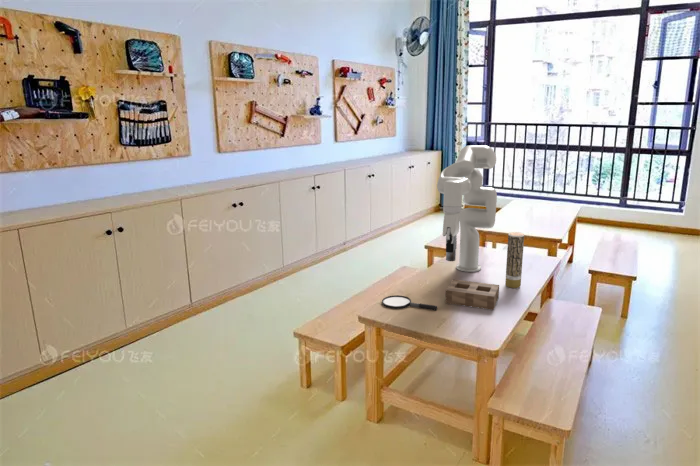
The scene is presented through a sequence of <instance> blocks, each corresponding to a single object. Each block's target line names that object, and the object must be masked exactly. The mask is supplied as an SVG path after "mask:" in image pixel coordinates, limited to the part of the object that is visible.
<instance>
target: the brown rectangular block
mask: <svg viewBox="0 0 700 466" xmlns="http://www.w3.org/2000/svg"><path fill="white" fill-rule="evenodd" d="M499 294H500V285H499V284H494V283H488V282H487V283H485V282H478V281H470V280H463V279H461V280H460V279H456V278H455V279H452V280H451V282H450V284H449V285H448V286H447V287H446V289H445V304H448V305H449V304H450V305H457V306H462V305H465V306H464V307H469V306H472V307H471V308H476V307H479V308H478V309H483V308H484V310H491V311H494V310H495V307H496V306H497V302H498V300H499V297H500V295H499Z"/></svg>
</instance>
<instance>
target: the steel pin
mask: <svg viewBox="0 0 700 466" xmlns="http://www.w3.org/2000/svg"><path fill="white" fill-rule="evenodd" d="M450 236H452V235H450ZM450 239H452V238H450ZM456 241H457V240H456V235H455V236H454V237H453V244H454V252H453V253H450V252H446V251H445V252H446V253H445V260H446V261H447V262H455V261H456V256H457V255H456V254H457V253H456V252H457V245H456Z"/></svg>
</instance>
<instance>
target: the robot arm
mask: <svg viewBox="0 0 700 466" xmlns="http://www.w3.org/2000/svg"><path fill="white" fill-rule="evenodd" d="M496 163H497V156H496V152H495V151H494V150H493V148H492V147H491V146H490V145H489V146H488V145H478V144H476V145H474V144H473V145H471V144H470V145H465V146H463V147H462V149H460V152H459V155H458V157H457V159H456V162H454V163H451V164H450V165H449V166H447V167H445V168H444V169H442V171H441V172H440V174H439V177H438V180H437V184H436V190H437V191H438V192H439V193H440V194H442V195H443V206H442V207H443V209H442V210H443V212H442V213H443V214H444V215H443V225H442V236H443V237H445V252H450V253H453V252H454V244H453V237H454V236H455V235H456V246H457V239H458V238H457V236H458V235H457V234H458V233H459V232H460V234H459V235H460V237H459V263H457V264H456V265H455V267H456V270H458V271H462V272H466V273H474V272H480V271H481V270H482V266H481V265H480V264H479V256H480V255H479V254H480V253H479V252H480V233H479V231H478V230H477V228H479V229H492V228H494V226H495V224H496V223H495V222H496V213H497V202H498V200H497V199H498V195H497V189H495V188H494V187H490V186H483V175H482V172H481V171H480V169H486V170H491V169H493V168H495V165H496ZM462 200H463V201H464V203H465V204H466V205H468V206H473V207H467V208H463V209H462V206H463V205H462V203H463V201H462ZM474 206H476V207H485V208H475V207H474ZM450 235H452V236H450ZM450 238H452V239H450Z"/></svg>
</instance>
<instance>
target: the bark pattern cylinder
mask: <svg viewBox="0 0 700 466" xmlns="http://www.w3.org/2000/svg"><path fill="white" fill-rule="evenodd" d="M507 235H508V236H507V252H506V264H505V265H506V269H505V282H504V283H505V286H506V287H507V288H510V289H519V288H520V287H521V285H522V274H523V272H522V271H523V258H524V243H525V234H524V233H523V232H519V231H518V232H517V231H511V232H509V233H508V234H507Z"/></svg>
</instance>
